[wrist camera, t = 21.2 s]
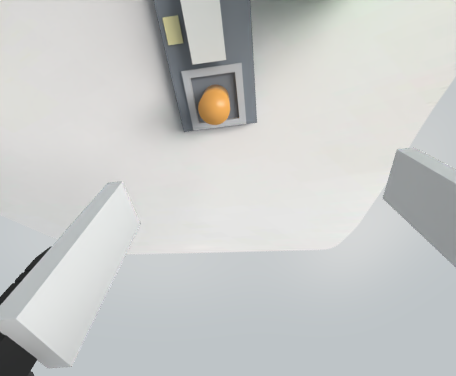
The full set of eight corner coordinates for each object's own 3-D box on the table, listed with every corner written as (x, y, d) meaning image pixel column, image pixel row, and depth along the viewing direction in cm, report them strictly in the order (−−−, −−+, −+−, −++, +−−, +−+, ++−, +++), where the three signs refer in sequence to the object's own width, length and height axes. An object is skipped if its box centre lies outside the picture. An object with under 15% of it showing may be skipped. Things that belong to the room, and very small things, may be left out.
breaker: (178, -17, 25) (176, -19, 24) (217, -23, 25) (216, -25, 24) (193, 62, 30) (192, 64, 29) (226, 58, 30) (226, 59, 29)
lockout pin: (200, 86, 33) (195, 94, 27) (227, 82, 33) (227, 89, 27) (205, 113, 35) (201, 127, 29) (230, 110, 35) (231, 122, 29)
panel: (133, -102, 25) (122, -121, 22) (241, -123, 24) (243, -144, 21) (185, 128, 38) (182, 134, 36) (255, 119, 38) (257, 124, 35)
